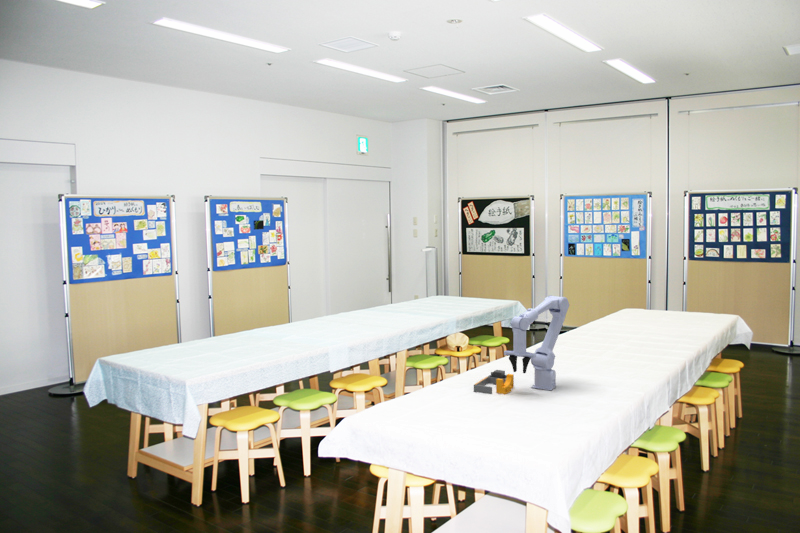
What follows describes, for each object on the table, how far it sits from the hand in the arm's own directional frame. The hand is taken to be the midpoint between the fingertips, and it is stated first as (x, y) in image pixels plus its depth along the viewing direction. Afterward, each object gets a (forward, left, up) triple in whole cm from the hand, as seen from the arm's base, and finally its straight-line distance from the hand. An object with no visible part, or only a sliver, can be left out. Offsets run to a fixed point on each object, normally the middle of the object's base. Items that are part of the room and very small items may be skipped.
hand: (519, 372), depth 269 cm
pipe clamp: (+6, 0, -10) cm, 12 cm away
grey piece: (+14, -3, -9) cm, 17 cm away
